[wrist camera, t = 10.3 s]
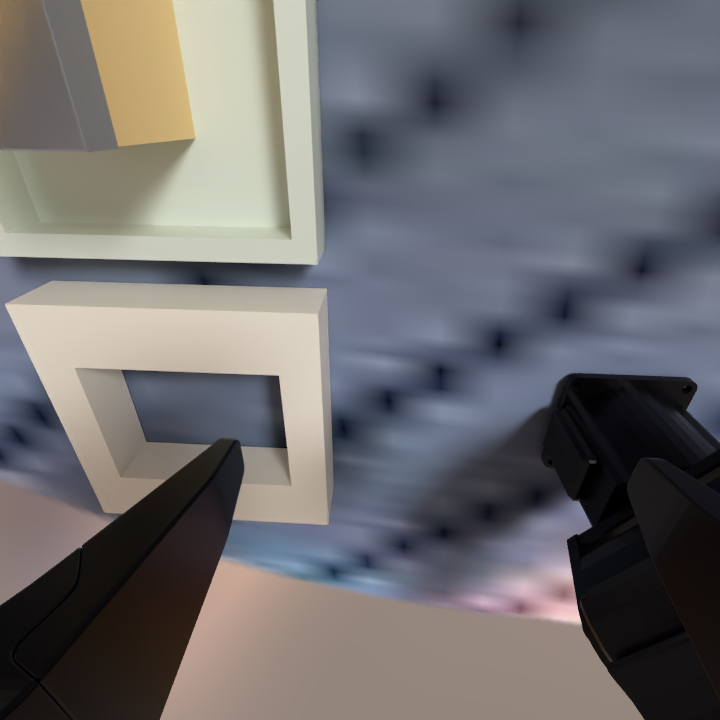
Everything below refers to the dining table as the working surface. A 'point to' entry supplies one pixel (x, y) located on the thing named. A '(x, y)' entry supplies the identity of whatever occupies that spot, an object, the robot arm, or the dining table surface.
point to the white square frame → (185, 354)
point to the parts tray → (195, 157)
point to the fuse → (90, 75)
